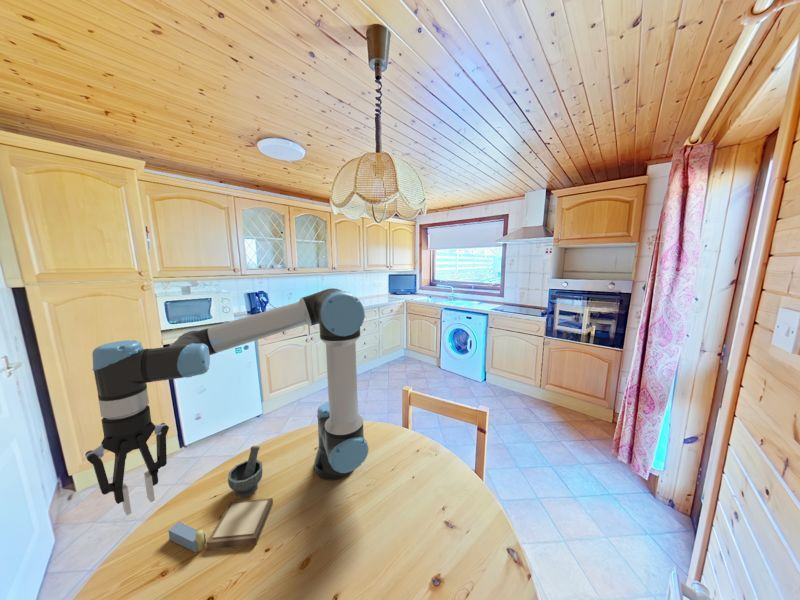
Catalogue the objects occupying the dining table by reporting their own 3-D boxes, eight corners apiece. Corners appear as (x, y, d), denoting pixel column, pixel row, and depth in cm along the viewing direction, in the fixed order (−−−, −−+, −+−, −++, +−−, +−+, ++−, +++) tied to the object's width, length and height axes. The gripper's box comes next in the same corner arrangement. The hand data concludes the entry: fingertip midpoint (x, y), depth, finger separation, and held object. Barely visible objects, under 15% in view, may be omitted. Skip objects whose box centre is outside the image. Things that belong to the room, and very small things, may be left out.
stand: (273, 504, 82) (272, 497, 81) (256, 544, 70) (255, 536, 70) (231, 507, 81) (230, 500, 80) (207, 549, 69) (206, 541, 68)
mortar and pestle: (249, 505, 81) (246, 469, 80) (222, 501, 83) (218, 465, 81) (272, 476, 93) (270, 444, 91) (247, 473, 94) (245, 441, 92)
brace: (208, 543, 70) (206, 529, 69) (198, 553, 68) (196, 538, 67) (179, 530, 73) (178, 516, 73) (169, 539, 71) (167, 524, 70)
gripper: (167, 392, 69) (177, 475, 72) (65, 423, 55) (83, 524, 58) (178, 400, 64) (188, 488, 68) (71, 436, 51) (89, 544, 54)
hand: (139, 504), depth 63 cm, fingers open, 3 cm apart
